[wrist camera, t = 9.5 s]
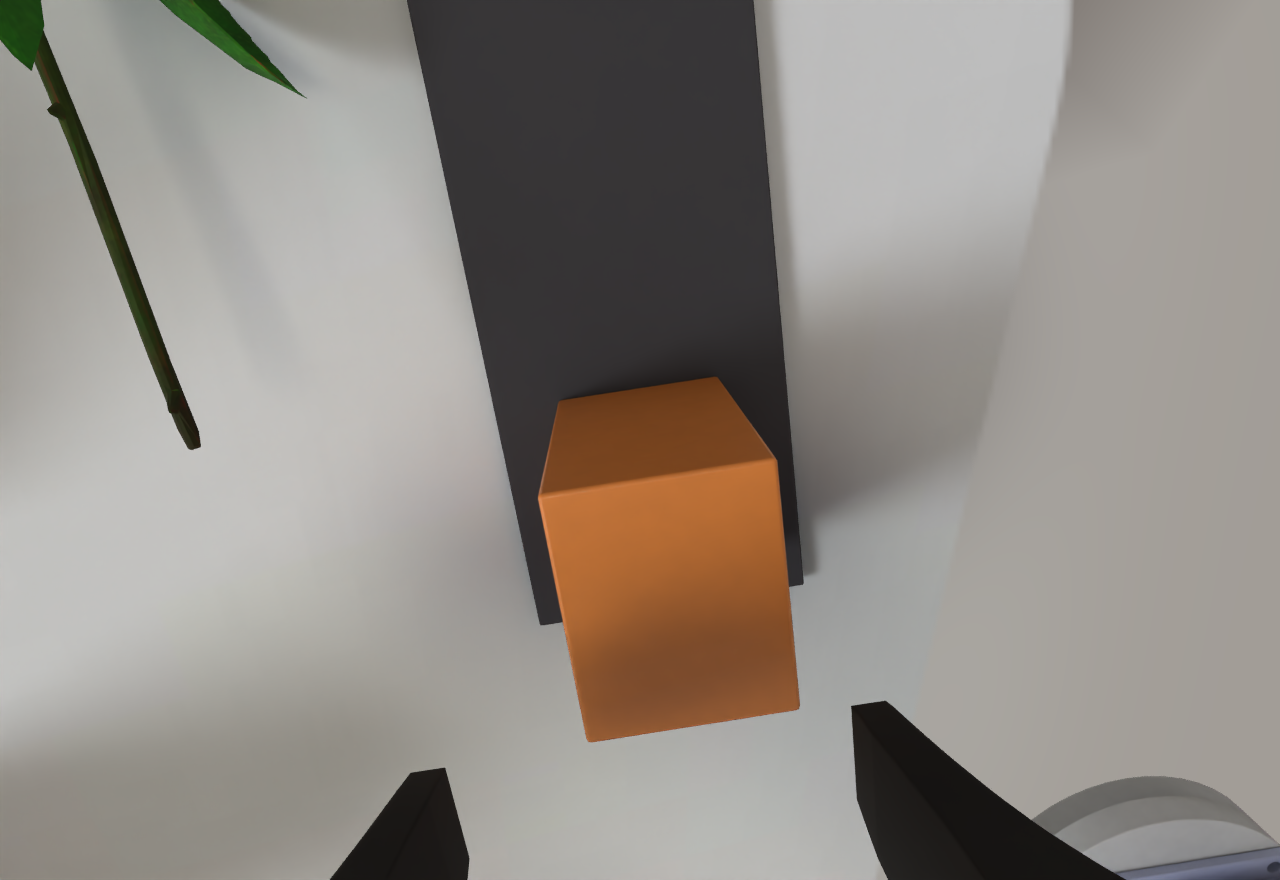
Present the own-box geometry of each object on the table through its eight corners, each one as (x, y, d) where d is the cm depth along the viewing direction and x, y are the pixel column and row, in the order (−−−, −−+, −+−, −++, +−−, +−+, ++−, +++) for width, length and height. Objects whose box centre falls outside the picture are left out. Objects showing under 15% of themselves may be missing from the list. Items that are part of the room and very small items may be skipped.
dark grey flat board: (698, -586, 14) (701, -609, 14) (800, 578, 22) (804, 585, 22) (297, -528, 14) (289, -549, 14) (541, 619, 22) (540, 626, 22)
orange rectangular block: (717, 375, 20) (778, 457, 13) (738, 556, 21) (801, 711, 15) (557, 400, 20) (536, 495, 13) (590, 579, 21) (587, 745, 15)
